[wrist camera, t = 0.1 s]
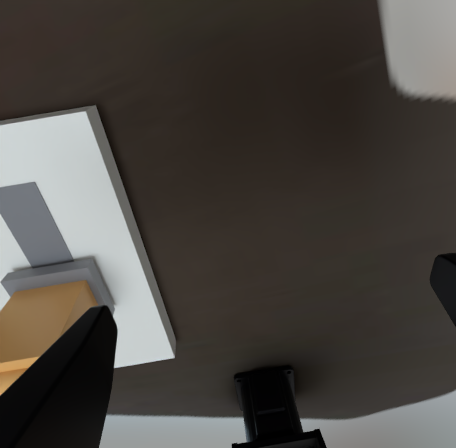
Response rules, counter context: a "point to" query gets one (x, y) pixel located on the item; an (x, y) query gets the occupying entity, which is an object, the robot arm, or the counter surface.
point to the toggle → (44, 311)
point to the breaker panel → (79, 221)
